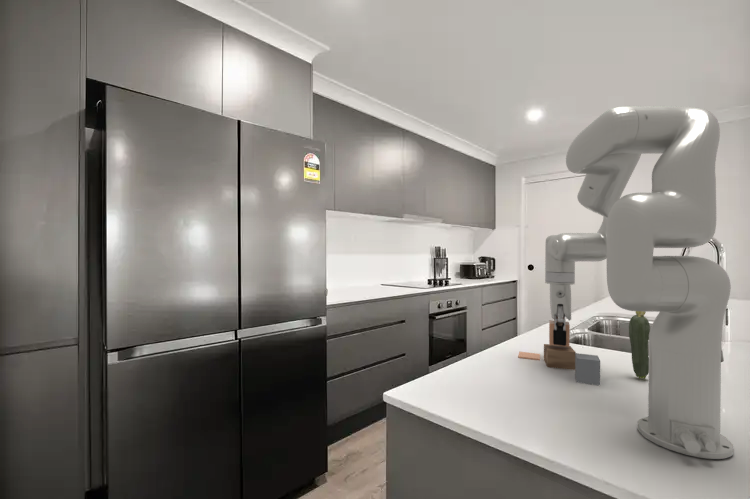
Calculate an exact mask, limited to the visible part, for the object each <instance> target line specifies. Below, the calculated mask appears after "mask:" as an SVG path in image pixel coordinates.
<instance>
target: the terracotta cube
mask: <svg viewBox="0 0 750 499" xmlns="http://www.w3.org/2000/svg"><path fill="white" fill-rule="evenodd" d="M557 322H558V321H556V323H557ZM548 325H549V327H548V329H549V330H548V332H549V333H548V334H549V335H548V337H549V338H548V339H549V340H548V344H549V345H554V344H553V330H554V320H553V319H552V320H549V323H548ZM570 326H571V325H570V321H565V331H566V345H565V346H567V347H569V346H571V345H570V339H571V337H570V333H571V332H570V329H571V328H570ZM556 328H557V325H556ZM556 330H557V329H556ZM557 346H563V345H557Z"/></svg>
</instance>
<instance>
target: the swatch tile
mask: <svg viewBox="0 0 750 499" xmlns="http://www.w3.org/2000/svg"><path fill="white" fill-rule="evenodd" d="M517 358H518V359H525V360H526V359H527V360H534V361H541V354H540V353H535V352H534V353H533V352H527V351H519V352H518V356H517Z"/></svg>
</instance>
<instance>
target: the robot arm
mask: <svg viewBox="0 0 750 499" xmlns="http://www.w3.org/2000/svg"><path fill="white" fill-rule="evenodd" d="M720 137H721V128H720V123H719V121H718V119H717V117H716V116H715V115H714V114H713V113H712V112H711V111H709V110H707V109H705V108H700V107H693V106H672V105H671V106H665V105H662V106H661V105H660V106H656V105H655V106H654V105H653V106H641V105H640V106H639V105H638V106H637V105H636V106H635V105H633V106H630V105H627V106H626V105H625V106H617V107H612V108H610V109H608V110H606V111H604V112H603V113H601V115H599V116H598V117H596V118H595V120H593V121H592V122H591V123H590V124H588V126H586V127H585V128H584V129H583V130H582V131H581V132H580V133H578V134H577V136H576V137H575V138H574V139H573V140H572V142H571V143H570V145H569V147H568V150H567V152H566V157H565V165H566V168H567V169H568V170H569V172H571V173H573V174H580V175H582V174H583V175H585V176H584V179H583V182H582V183H581V186H580V188H579V191H578V193H577V201H578V202H579V204H580V205H581V206H582V207H584V208H585V209H587V210H589V211H591V212H593V213H595V214H597V215H600V216H602V217H603V218H602V219H603V220H602V222H601V225H600V226H599V229H598V231H597V232H563V233H558V234H552V235H547V237H546V238H545V245H544V246H545V257H544V258H545V259H544V260H545V261H544V262H545V264H544V265H545V268H544V271H545V272H544V273H545V274H544V277H545V278H544V280H545V282H544V283H545V284H548V285H549V305H550V308H549V309H550V314H551V318H552V320H553V321H554V330H553V344H554V345H563V346H565V345H566V331H565V322H567V321H566V320H568V322H570V321H572V289H571V288H572V287H571V286H572V285H576V266H575V265H576V262H593V263H594V262H602V261H605V260H606V283H607V290H608V294H609V296H610V298H611V300H612V301H613V303H615V305H616V306H617V307H618V308H621V309H622V310H626V311H631V312H635V311H643V312H647V313H648V312H649V313H651V312H656V313H657V315H656V317H655V319H654V321H652V325H651V326H650V332H649V340H648V356H649V373H648V398H647V399H648V404H647V407H648V409H647V410H648V412H647V413H648V414H647V415H648V416H645V417H642V418H640V419H639V420H638V421H637V430H638V432H639V434H641V436H643V437H645V438H646V439H647V440H649V441H650V442H652V443H654V444H655V445H657V446H660V447H662V448H665V449H667V450H669V451H673V452H675V453H678V454H682V455H685V456H689V457H690V456H691V457H693V458H694V457H695V458H699V459H700V458H701V459H708V460H721V459H723V460H724V459H728V458H731V457H732V456H733V455H734V444H733V443H732V442H731V440H729V439H728V438H727V437H725V436H724V435H723V434H721V400H722V399H721V397H722V396H721V394H722V392H721V391H722V390H721V387H722V386H721V383H722V363H721V362H722V343H723V342H722V340H723V339H722V338H723V325H724V318H725V315H726V314H725V313H726V311H727V310H726V309H727V307H728V304H729V300H730V296H731V288H732V287H731V286H732V285H731V280H730V277H729V274H728V273H727V271H726V270H725V269H724V268H723V266H721V265H720V264H719V263H717V262H715V261H713V260H710V259H708V258H705V257H700V256H692V255H691V256H690V255H654V249H687V248H696V247H700V246H701V247H702V246H704V245H705V244H707V243H709V242H710V241H711V240H712V239H713V237H714V236H715V233H716V229H717V228H716V227H717V180H716V178H717V177H716V161H717V153H718V148H719V145H720ZM642 154H643V155H644V154H645V155H646V154H652V155H653V154H654V155H655V154H657V155H658V154H661V155H660V156H659V158H658V159H657V160H656V162H655V164H654V166H653V169H652V170H651V192H634V193H629V194H625V195H623V193H624V191H625V188H626V186H627V185H628V182H629V181H630V179H631V177H632V176H633V174H634V170H635V169H636V167H637V164H638V163H639V160H640V158H641V155H642ZM622 195H623V196H622ZM556 321H558V322H557V323H556ZM556 325H557V328H556ZM556 329H557V330H556Z"/></svg>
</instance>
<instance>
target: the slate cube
mask: <svg viewBox="0 0 750 499" xmlns="http://www.w3.org/2000/svg"><path fill="white" fill-rule="evenodd" d="M574 377H575V381H576V383H580V384H586V385H587V384H588V385H592V384H593V385H595V386H599V385H600V386H601V360H600V357H599V356H598V355H596V354H587V353H578V352H576V353H575V370H574Z"/></svg>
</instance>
